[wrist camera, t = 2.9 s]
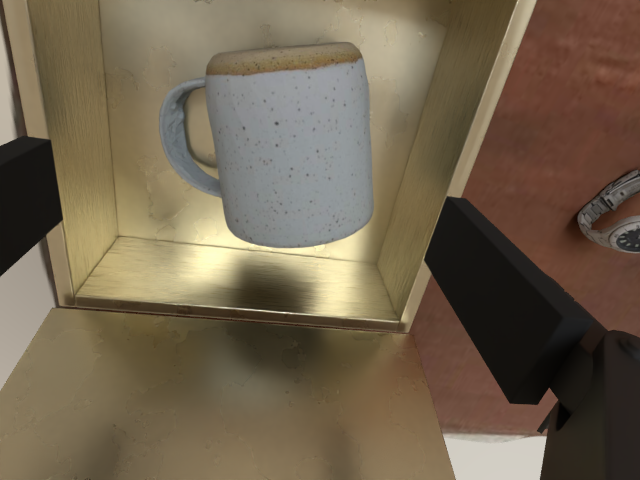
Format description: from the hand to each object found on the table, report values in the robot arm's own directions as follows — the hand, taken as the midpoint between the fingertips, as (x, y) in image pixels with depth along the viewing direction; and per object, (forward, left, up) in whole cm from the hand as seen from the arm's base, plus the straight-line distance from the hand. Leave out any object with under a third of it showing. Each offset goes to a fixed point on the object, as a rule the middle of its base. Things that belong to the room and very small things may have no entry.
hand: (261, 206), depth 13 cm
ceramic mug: (0, 0, -10) cm, 10 cm away
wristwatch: (+1, +24, -11) cm, 26 cm away
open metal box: (0, 0, -11) cm, 11 cm away
